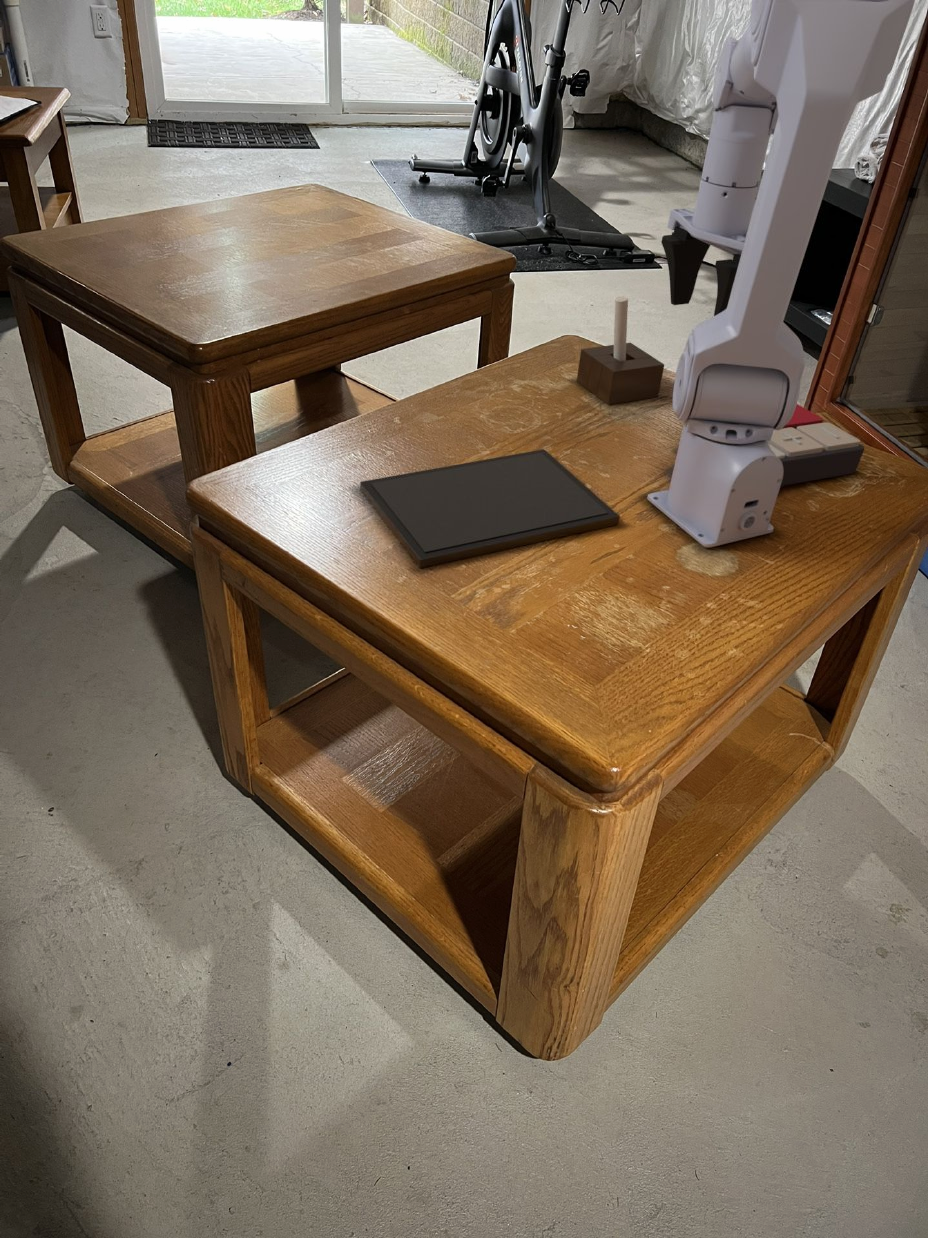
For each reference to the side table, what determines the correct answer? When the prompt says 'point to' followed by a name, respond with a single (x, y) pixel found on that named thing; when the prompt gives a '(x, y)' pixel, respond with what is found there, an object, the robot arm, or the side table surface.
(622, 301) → the stylus
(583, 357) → the pen stand
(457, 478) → the tablet
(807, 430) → the grey box with panels
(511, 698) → the side table surface
